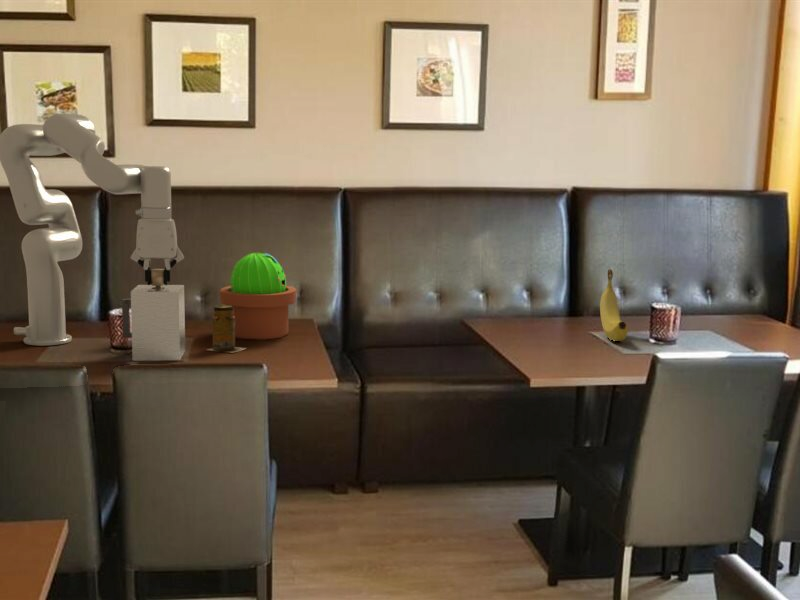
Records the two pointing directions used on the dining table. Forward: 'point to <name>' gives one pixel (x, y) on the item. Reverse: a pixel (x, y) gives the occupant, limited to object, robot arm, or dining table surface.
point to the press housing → (155, 322)
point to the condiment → (224, 330)
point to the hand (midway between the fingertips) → (158, 283)
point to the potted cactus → (259, 297)
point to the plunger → (157, 278)
